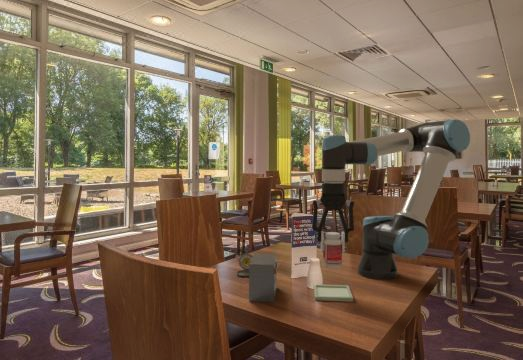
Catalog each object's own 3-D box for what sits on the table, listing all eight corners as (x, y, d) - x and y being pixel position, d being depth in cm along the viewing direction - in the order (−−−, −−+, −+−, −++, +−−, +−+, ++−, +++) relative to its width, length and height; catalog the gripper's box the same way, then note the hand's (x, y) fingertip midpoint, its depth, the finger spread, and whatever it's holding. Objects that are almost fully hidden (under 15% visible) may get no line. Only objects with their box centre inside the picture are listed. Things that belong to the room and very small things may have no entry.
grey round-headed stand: (240, 278, 142) (240, 252, 141) (232, 272, 149) (232, 247, 149) (259, 275, 145) (259, 250, 145) (251, 269, 153) (251, 245, 152)
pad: (348, 288, 130) (348, 285, 130) (353, 301, 118) (353, 297, 118) (313, 287, 131) (313, 284, 131) (315, 300, 119) (315, 296, 119)
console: (278, 287, 131) (278, 253, 131) (276, 302, 117) (276, 264, 117) (253, 286, 132) (253, 253, 131) (247, 301, 118) (247, 264, 117)
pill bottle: (345, 266, 123) (346, 233, 122) (332, 269, 120) (332, 235, 119) (332, 262, 128) (332, 230, 128) (319, 265, 125) (319, 232, 124)
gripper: (360, 182, 125) (359, 249, 126) (304, 181, 127) (303, 248, 128) (364, 183, 118) (363, 255, 119) (304, 182, 120) (303, 253, 121)
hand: (332, 251), depth 124 cm, fingers closed on pill bottle, 6 cm apart
